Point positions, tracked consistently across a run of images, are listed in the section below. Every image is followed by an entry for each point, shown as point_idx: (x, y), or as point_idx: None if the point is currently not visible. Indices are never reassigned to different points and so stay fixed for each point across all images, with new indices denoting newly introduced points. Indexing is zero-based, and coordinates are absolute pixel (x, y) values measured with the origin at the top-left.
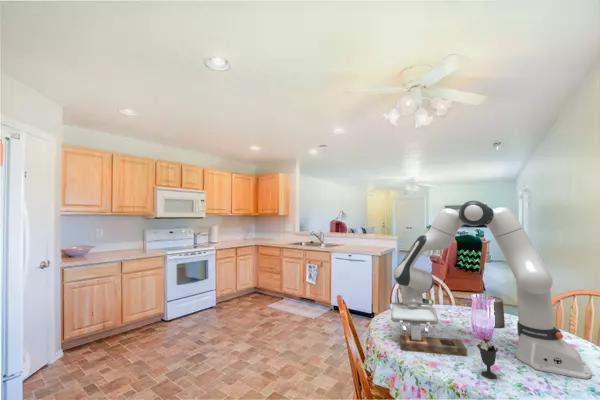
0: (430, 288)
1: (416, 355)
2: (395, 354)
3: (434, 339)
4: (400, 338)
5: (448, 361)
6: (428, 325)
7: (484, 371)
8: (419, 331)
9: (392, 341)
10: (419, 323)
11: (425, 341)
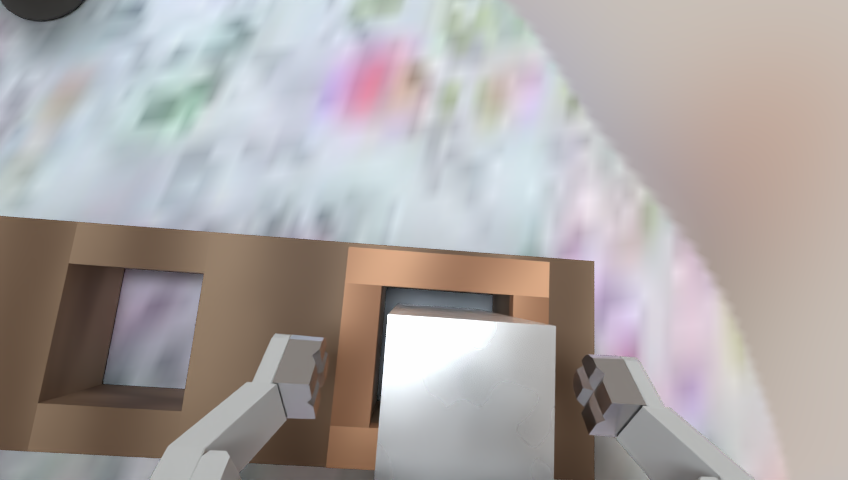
0: None
1: (462, 193)
2: (617, 190)
3: None
4: None
5: (245, 129)
6: (219, 422)
7: (49, 5)
8: (412, 312)
9: None
10: (375, 476)
11: (354, 301)
